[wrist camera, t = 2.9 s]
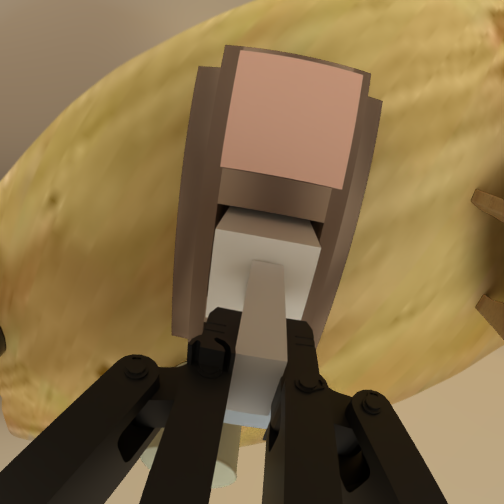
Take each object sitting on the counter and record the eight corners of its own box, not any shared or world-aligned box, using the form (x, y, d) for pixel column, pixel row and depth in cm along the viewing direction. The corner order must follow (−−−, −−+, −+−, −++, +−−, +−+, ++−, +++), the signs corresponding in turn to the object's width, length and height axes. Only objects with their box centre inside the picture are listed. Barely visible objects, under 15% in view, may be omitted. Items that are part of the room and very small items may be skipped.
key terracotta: (238, 157, 17) (220, 166, 11) (251, 80, 16) (240, 50, 10) (318, 172, 17) (342, 189, 11) (332, 96, 16) (363, 75, 9)
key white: (223, 267, 21) (205, 317, 15) (233, 200, 20) (215, 228, 14) (291, 279, 21) (296, 333, 15) (306, 213, 20) (321, 247, 13)
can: (156, 382, 32) (123, 461, 20) (199, 346, 29) (167, 441, 18) (214, 419, 33) (199, 496, 22) (263, 390, 31) (258, 481, 19)
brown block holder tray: (174, 329, 28) (151, 376, 22) (201, 69, 19) (173, 43, 13) (311, 353, 28) (318, 405, 22) (378, 102, 19) (417, 90, 13)
